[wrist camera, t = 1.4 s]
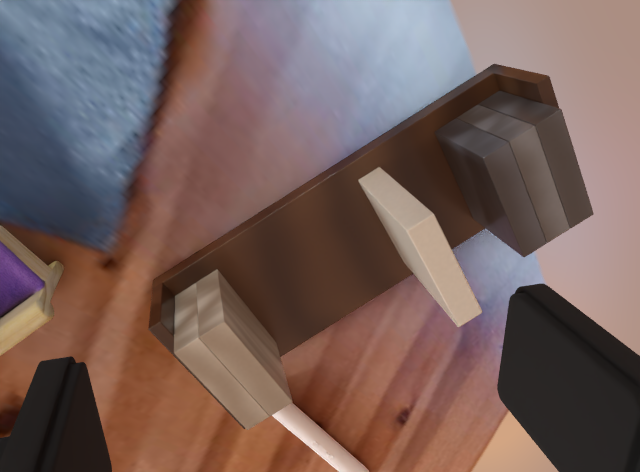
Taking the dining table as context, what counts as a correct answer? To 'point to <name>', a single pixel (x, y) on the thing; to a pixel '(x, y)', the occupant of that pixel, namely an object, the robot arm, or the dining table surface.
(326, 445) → the beige rod
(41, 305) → the toy sofa
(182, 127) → the dining table surface
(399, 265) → the book rack
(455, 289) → the beige book
